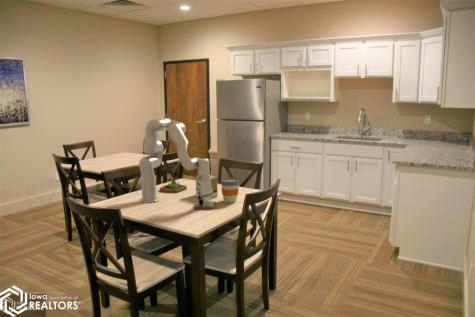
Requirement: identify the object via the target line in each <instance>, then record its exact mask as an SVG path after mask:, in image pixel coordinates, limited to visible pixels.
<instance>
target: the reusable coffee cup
mask: <svg viewBox="0 0 475 317" xmlns="http://www.w3.org/2000/svg"><path fill="white" fill-rule="evenodd" d="M220 185H221V188H220V189H221V195H222V197H223V202H224V203H227V202H230V203H231V202H233V203H236V202H237V200H238V195H239V185H240V181H239V178H233V177H229V178H222V179H221V181H220Z"/></svg>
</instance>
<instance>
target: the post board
mask: <svg viewBox="0 0 475 317" xmlns="http://www.w3.org/2000/svg"><path fill="white" fill-rule="evenodd" d="M216 204H217V202H216V201H214V206H213V207H209V206H205V207H204V206H201V205H198V201H195V202H194V205H193V210H199V211H201V210H203V211H204V210H216Z"/></svg>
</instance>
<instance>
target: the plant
mask: <svg viewBox="0 0 475 317" xmlns="http://www.w3.org/2000/svg"><path fill="white" fill-rule="evenodd" d="M176 180H177V181H178V180H179V178H178V177H175V178H174V177H173V176H171V177H170V178H167V181H168V182H166V183H167V184H166V185H165V184H164V185H163V186H161V187H160V188H159V192H162V193H165V194H178V193H181V192H183V191H186V190H187V188H188V186H187V185H186V184H181V183H180V182H179V181H178V182H177V181H176ZM169 181H170V182H169Z"/></svg>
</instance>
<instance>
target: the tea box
mask: <svg viewBox="0 0 475 317" xmlns="http://www.w3.org/2000/svg"><path fill="white" fill-rule="evenodd" d="M210 179H211V183H212V190H213V192H212V194H211V199H212V198H213V197H214V198H218V177H216V176H214V175H211V174H210ZM197 182H198V175H195V193H196V192H197ZM200 196H201V195H200Z"/></svg>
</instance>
